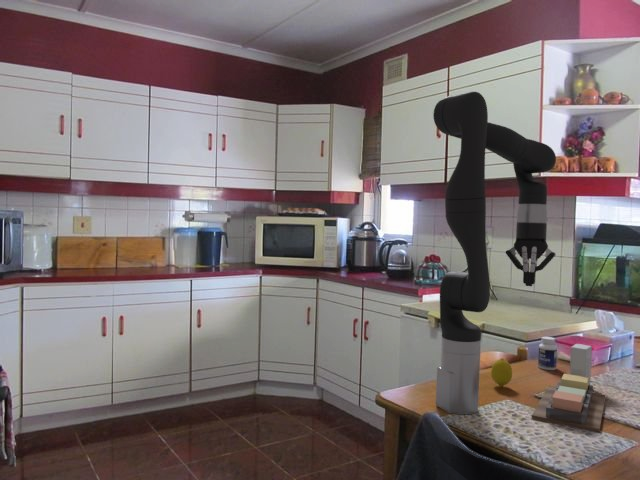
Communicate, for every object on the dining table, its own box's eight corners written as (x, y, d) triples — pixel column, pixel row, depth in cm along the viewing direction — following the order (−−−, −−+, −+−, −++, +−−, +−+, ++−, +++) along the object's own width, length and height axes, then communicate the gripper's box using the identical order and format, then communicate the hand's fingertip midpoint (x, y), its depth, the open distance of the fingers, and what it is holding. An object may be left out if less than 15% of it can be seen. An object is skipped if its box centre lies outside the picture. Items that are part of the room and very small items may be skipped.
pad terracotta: (580, 415, 120) (581, 402, 120) (551, 409, 123) (552, 397, 123) (582, 407, 125) (583, 395, 125) (555, 402, 128) (555, 390, 128)
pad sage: (583, 408, 128) (583, 396, 128) (556, 403, 131) (556, 391, 131) (585, 401, 133) (585, 390, 133) (559, 397, 136) (559, 385, 136)
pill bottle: (535, 368, 169) (537, 337, 169) (540, 364, 173) (541, 335, 173) (553, 371, 166) (555, 340, 165) (558, 368, 170) (559, 337, 170)
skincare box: (574, 384, 152) (575, 343, 152) (590, 387, 149) (592, 345, 149) (568, 389, 147) (570, 346, 147) (585, 392, 145) (587, 349, 144)
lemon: (507, 391, 144) (509, 362, 144) (487, 386, 147) (488, 358, 147) (514, 386, 148) (515, 358, 148) (494, 382, 152) (495, 354, 151)
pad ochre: (586, 394, 136) (586, 382, 135) (560, 390, 139) (561, 378, 138) (588, 388, 141) (588, 377, 141) (563, 384, 144) (563, 373, 144)
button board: (599, 432, 116) (599, 418, 116) (531, 418, 123) (532, 405, 123) (605, 398, 140) (605, 386, 140) (548, 388, 148) (548, 377, 147)
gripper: (503, 220, 142) (500, 285, 142) (556, 221, 135) (553, 289, 136) (508, 221, 148) (506, 282, 149) (560, 222, 142) (557, 286, 142)
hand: (529, 285), depth 142 cm, fingers closed
